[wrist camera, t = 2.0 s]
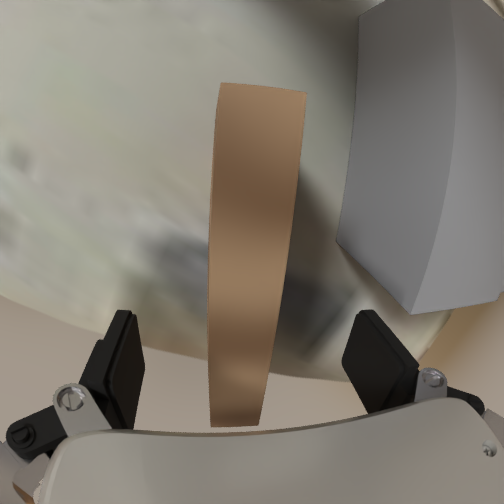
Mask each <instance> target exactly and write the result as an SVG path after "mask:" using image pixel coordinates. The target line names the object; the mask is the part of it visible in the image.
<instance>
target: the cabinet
mask: <svg viewBox="0 0 504 504" xmlns="http://www.w3.org/2000/svg"><path fill="white" fill-rule="evenodd" d="M336 242H337V243H338V244H339V245H340V246H341V247H343V248H344V249H345V250H346V251H347V252H348V253H349V254H350V255H351V256H352V257H353V258H354V259H355V260H356V261H357V262H358V263H359V264H360V265H361V266H362V267H363V268H364V269H365V270H367V271H368V272H369V273H370V274H371V275H372V276H373V277H374V278H375V279H376V280H377V281H378V282H379V283H380V284H381V285H382V286H383V287H384V288H385V289H386V290H387V291H388V292H389V293H390V295H391V296H392V297H393V298H394V299H395V300H396V301H397V302H398V303H399V304H400V305H401V306H402V307H403V308H404V309H405V310H406V311H407V312H408V313H409V314H410V315H413V314H421V313H428V312H435V311H442V310H448V309H454V308H460V307H466V306H471V305H477V304H482V303H487V302H493V301H497V299H498V297H499V295H500V292H504V19H503V18H501V17H500V16H499V15H498V14H497V13H496V12H495V11H494V10H493V9H492V8H491V7H490V6H488V5H487V4H486V3H485V2H484V1H483V0H385V1H383V2H382V3H380V4H378V5H377V6H375V7H373V8H372V9H370V10H368V11H367V12H365V13H364V14H362V15H360V16H359V38H358V67H357V84H356V98H355V110H354V121H353V131H352V140H351V148H350V156H349V164H348V171H347V178H346V185H345V192H344V198H343V204H342V210H341V216H340V222H339V227H338V233H337V238H336Z"/></svg>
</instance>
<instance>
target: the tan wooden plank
mask: <svg viewBox="0 0 504 504" xmlns="http://www.w3.org/2000/svg"><path fill="white" fill-rule="evenodd" d="M306 95H307V93H306V92H300V91H294V90H288V89H281V88H274V87H266V86H257V85H247V84H236V83H221V85H220V91H219V97H218V103H217V109H216V119H215V132H214V146H213V160H212V177H211V195H210V217H209V245H208V292H207V338H208V376H209V401H210V422H211V427H240V426H257V425H258V424H259V419H260V415H261V410H262V405H263V399H264V394H265V389H266V384H267V379H268V373H269V368H270V362H271V357H272V351H273V346H274V340H275V334H276V328H277V322H278V316H279V310H280V304H281V297H282V291H283V285H284V278H285V271H286V265H287V258H288V251H289V244H290V237H291V229H292V222H293V214H294V206H295V198H296V190H297V182H298V173H299V165H300V156H301V147H302V137H303V127H304V117H305V106H306Z"/></svg>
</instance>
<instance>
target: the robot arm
mask: <svg viewBox="0 0 504 504" xmlns="http://www.w3.org/2000/svg"><path fill="white" fill-rule="evenodd" d="M342 366H343V368H344V370H345V372H346V373H347V375H348V377H349V379H350V381H351V383H352V384H353V386H354V388H355V390H356V392H357V394H358V396H359V398H360V399H361V401H362V403H363V405H364V407H365V409H366V411H367V413H368V414H366V415H362V416H358V417H353V418H348V419H343V420H338V421H333V422H327V423H321V424H315V425H309V426H302V427H294V428H286V429H277V430H266V431H251V432H231V433H186V432H185V433H184V432H183V433H182V432H161V431H148V430H133V428H134V423H135V417H136V411H137V406H138V401H139V396H140V391H141V386H142V381H143V376H144V372H145V363H144V357H143V352H142V346H141V341H140V335H139V329H138V323H137V317H136V315H135V314H132V312H131V311H130V310H117V311H116V313H115V316H114V318H113V320H112V322H111V324H110V326H109V328H108V331H107V333H106V335H105V337H104V339H103V340H98V341H97V342H96V344H95V347H94V349H93V351H92V353H91V356H90V358H89V360H88V362H87V364H86V367H85V369H84V372H83V374H82V376H81V379H80V381H79V384H76V383H70V384H66V385H64V386H61V387H60V388H59V389H57V390H56V392H55V394H54V395H53V404H54V405H52V406H50V407H48V408H45V409H43V410H41V411H39V412H37V413H34V414H32V415H30V416H28V417H26V418H23V419H21V420H18V421H16V422H14V423H13V424H11V425H10V427H9V428H8V430H7V433H6V441H5V442H4V443H2V442H1V441H0V504H35V503H34V500H33V493H34V491H35V489H36V488H37V487H38V486H39V485H40V483H39V481H40V480H41V479H42V478H43V482H42V486H41V490H40V495H39V500H38V504H504V418H503V417H501V416H499V415H498V414H496V413H494V412H493V411H491V410H489V409H487V410H486V411H485V408H484V404H483V402H482V401H481V400H480V398H479V397H477V396H475V395H472V394H469V393H466V392H463V391H460V390H457V389H454V388H451V387H448V386H447V379H446V377H445V376H444V374H443V373H442V372H440V371H439V370H436V369H434V368H424V369H422V370H421V371H419V370H418V367H419V364H418V362H417V361H416V360H415V359H414V357H413V356H412V355H411V354H410V353H409V351H408V350H407V349H406V348H405V346H404V345H403V344H402V343H401V342H400V340H399V339H398V338H397V337H396V336H395V334H394V333H393V332H392V331H391V330H390V328H389V327H388V326H387V325H386V324H385V323H384V321H383V320H382V319H381V318H380V317H379V316H378V314H377V313H376V312H375V311H374V310H361V311H360V312H359V314H357V315H356V317H355V320H354V323H353V327H352V330H351V333H350V336H349V339H348V342H347V345H346V348H345V351H344V354H343V357H342Z"/></svg>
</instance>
